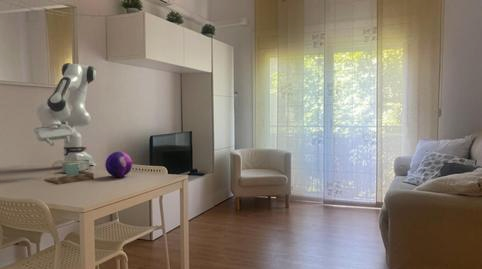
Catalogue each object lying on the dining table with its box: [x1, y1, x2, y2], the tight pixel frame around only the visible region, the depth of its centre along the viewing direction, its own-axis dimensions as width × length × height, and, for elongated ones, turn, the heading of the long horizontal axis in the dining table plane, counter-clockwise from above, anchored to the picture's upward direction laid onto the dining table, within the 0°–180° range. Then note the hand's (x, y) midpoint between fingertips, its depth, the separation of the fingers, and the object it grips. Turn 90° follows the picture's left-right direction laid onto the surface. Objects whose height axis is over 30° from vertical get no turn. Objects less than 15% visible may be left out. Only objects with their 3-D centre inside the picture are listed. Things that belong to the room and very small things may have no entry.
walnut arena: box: [44, 170, 95, 185], centre depth 205 cm, size 20×18×4 cm
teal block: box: [65, 163, 79, 176], centre depth 205 cm, size 5×4×8 cm
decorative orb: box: [104, 151, 133, 178], centre depth 215 cm, size 15×15×15 cm
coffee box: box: [61, 160, 90, 174], centre depth 236 cm, size 9×6×16 cm
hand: (60, 144), depth 214 cm, fingers open, 8 cm apart
